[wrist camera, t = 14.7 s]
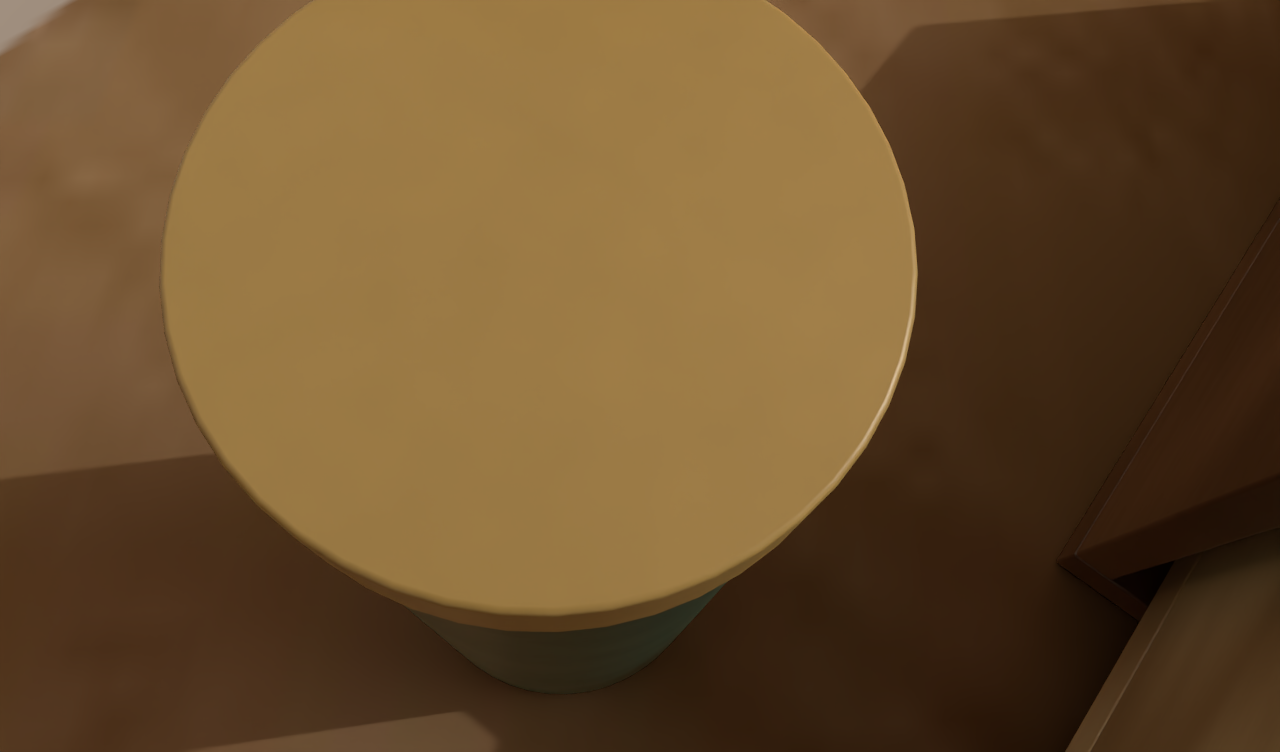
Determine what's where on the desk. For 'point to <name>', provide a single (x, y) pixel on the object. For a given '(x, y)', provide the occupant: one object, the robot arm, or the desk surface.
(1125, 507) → the brown wooden box
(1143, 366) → the desk surface
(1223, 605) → the drawer
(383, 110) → the tin
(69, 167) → the desk surface
